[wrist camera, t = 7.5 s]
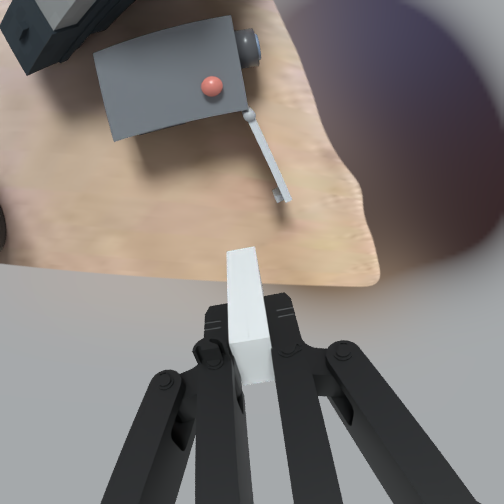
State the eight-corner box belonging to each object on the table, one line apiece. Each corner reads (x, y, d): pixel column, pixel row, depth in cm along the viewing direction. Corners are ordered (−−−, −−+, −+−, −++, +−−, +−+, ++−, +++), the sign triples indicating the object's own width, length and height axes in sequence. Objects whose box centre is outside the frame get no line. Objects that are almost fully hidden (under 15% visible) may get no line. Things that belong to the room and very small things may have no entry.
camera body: (132, 132, 36) (112, 145, 29) (115, 56, 30) (89, 53, 24) (264, 103, 35) (273, 108, 28) (250, 23, 30) (255, 9, 23)
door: (233, 110, 35) (234, 116, 30) (248, 103, 35) (252, 108, 29) (272, 190, 41) (279, 209, 35) (285, 183, 40) (295, 202, 35)
